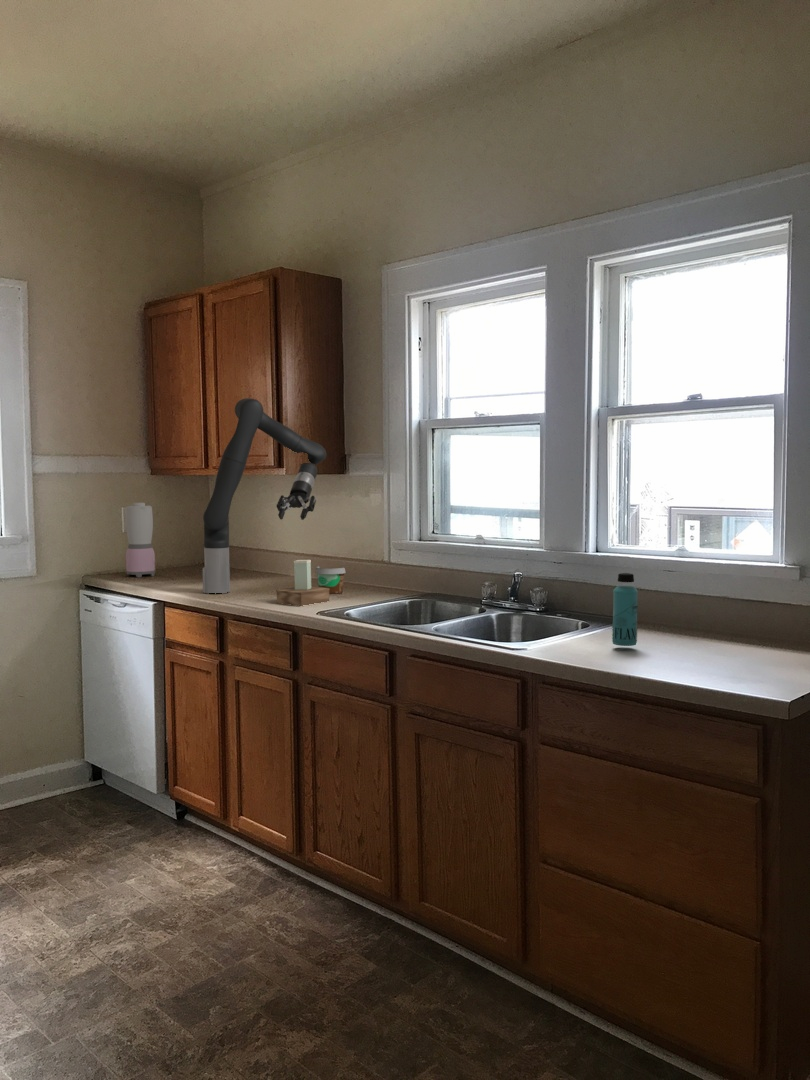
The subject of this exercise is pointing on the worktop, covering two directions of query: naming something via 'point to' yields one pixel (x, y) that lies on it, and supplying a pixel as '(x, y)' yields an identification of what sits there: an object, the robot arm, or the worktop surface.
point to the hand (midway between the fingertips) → (291, 518)
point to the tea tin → (302, 574)
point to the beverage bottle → (625, 612)
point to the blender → (139, 540)
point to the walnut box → (302, 596)
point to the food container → (331, 579)
